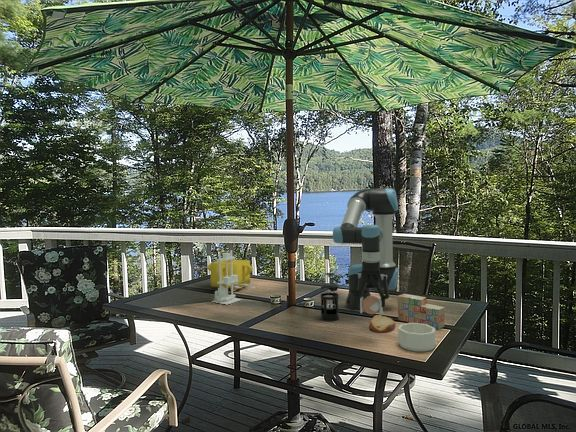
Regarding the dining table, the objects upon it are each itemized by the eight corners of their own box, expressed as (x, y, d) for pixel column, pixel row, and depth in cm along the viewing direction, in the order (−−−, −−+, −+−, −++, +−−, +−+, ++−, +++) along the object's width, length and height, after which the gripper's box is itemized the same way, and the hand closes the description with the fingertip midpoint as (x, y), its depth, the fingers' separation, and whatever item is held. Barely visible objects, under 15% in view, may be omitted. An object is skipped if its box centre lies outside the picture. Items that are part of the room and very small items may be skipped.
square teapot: (263, 285, 289) (263, 254, 288) (241, 295, 262) (240, 261, 260) (220, 281, 303) (219, 252, 302) (195, 291, 276) (194, 259, 275)
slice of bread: (381, 318, 212) (381, 310, 211) (408, 327, 196) (408, 319, 196) (353, 324, 202) (353, 317, 202) (380, 335, 187) (379, 326, 187)
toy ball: (377, 317, 177) (376, 299, 176) (359, 315, 181) (359, 297, 180) (383, 312, 183) (383, 294, 183) (366, 309, 188) (366, 292, 187)
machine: (211, 302, 246) (210, 251, 244) (226, 298, 256) (224, 249, 254) (249, 310, 230) (248, 255, 228) (263, 304, 240) (262, 252, 238)
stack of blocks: (444, 326, 196) (445, 300, 195) (438, 329, 192) (438, 303, 191) (404, 317, 212) (404, 293, 211) (397, 320, 207) (397, 295, 207)
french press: (332, 322, 204) (331, 276, 203) (316, 319, 210) (315, 274, 209) (344, 316, 214) (343, 272, 212) (328, 313, 220) (327, 270, 218)
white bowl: (396, 348, 170) (396, 331, 169) (402, 337, 183) (402, 321, 182) (432, 353, 164) (432, 336, 164) (436, 341, 177) (436, 325, 176)
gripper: (345, 261, 181) (345, 313, 183) (393, 264, 172) (393, 318, 174) (350, 258, 188) (350, 308, 190) (396, 260, 179) (397, 313, 181)
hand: (371, 313), depth 182 cm, fingers closed on toy ball, 8 cm apart
